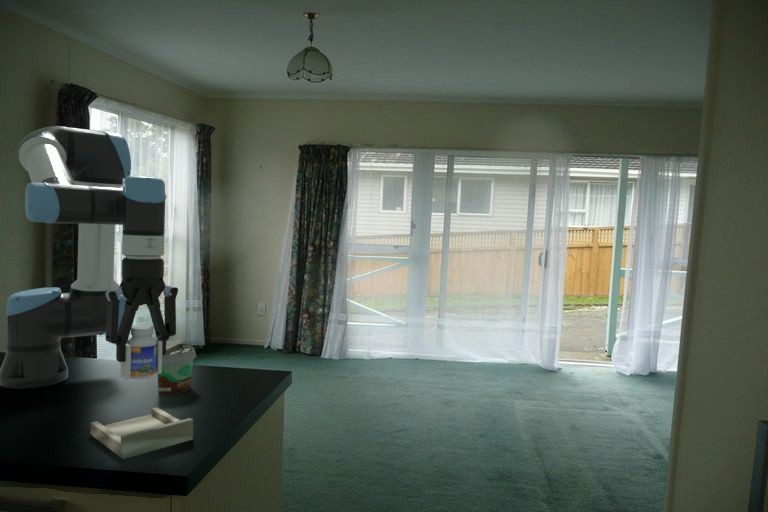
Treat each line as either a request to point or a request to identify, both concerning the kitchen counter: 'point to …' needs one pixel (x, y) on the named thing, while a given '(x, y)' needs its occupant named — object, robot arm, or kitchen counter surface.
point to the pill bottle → (142, 352)
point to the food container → (176, 371)
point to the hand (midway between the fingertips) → (141, 374)
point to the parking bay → (143, 433)
